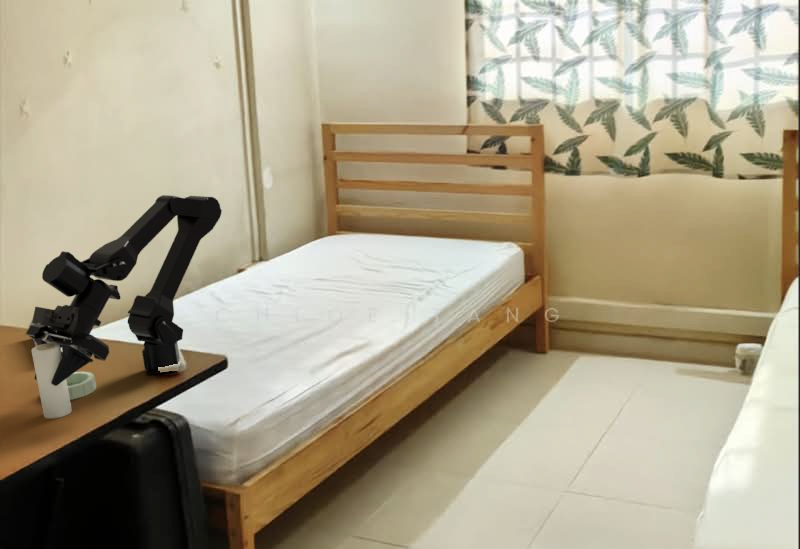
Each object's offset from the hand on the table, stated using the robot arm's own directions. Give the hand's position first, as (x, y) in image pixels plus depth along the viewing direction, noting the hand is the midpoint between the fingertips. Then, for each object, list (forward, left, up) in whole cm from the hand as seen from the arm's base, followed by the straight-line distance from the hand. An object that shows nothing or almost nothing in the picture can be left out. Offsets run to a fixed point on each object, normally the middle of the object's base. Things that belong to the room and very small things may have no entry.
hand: (45, 382), depth 182 cm
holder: (-1, -12, -7) cm, 14 cm away
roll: (-1, -1, -7) cm, 7 cm away
